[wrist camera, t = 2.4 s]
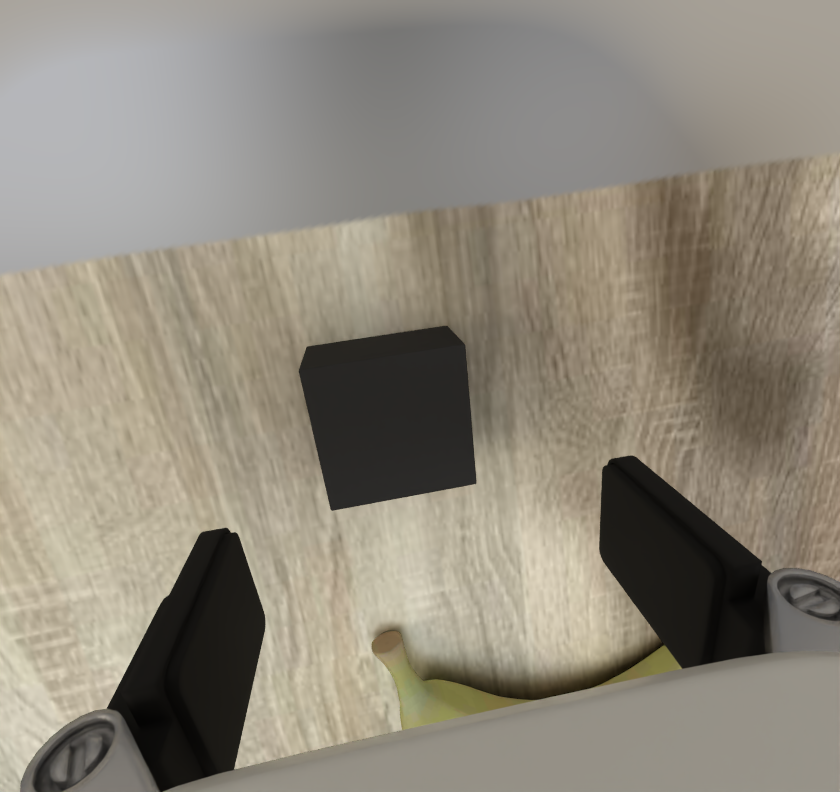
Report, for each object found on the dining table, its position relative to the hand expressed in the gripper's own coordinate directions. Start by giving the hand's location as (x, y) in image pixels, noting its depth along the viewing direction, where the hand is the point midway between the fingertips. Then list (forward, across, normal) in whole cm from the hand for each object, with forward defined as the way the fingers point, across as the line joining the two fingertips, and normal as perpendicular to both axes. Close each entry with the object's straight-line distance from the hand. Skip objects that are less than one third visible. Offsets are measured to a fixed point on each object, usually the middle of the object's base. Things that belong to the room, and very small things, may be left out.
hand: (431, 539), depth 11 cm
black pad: (+9, 0, 0) cm, 9 cm away
